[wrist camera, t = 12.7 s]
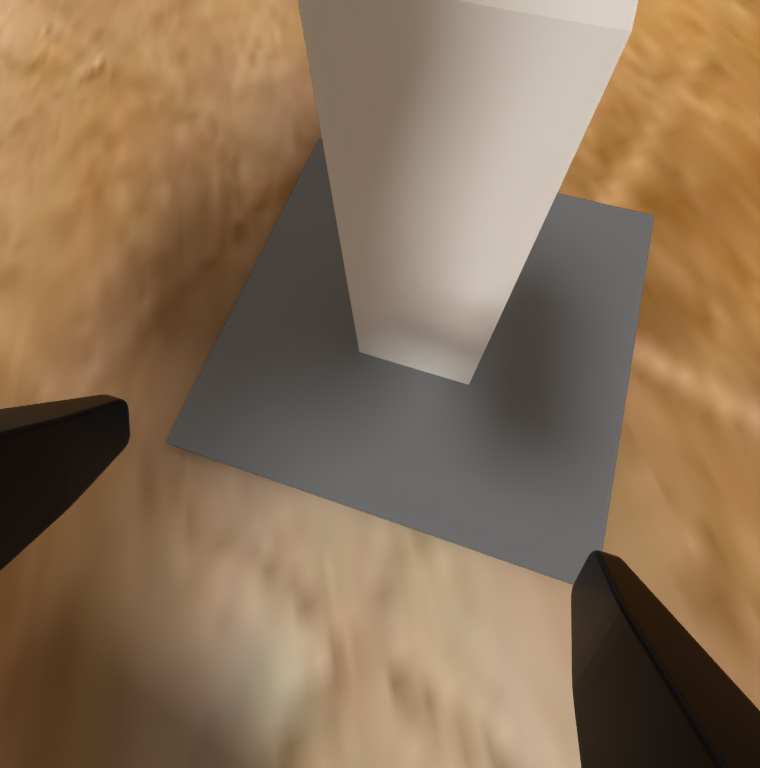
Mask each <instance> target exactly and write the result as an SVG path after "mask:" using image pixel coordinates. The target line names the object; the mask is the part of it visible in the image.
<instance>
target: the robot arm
mask: <svg viewBox="0 0 760 768" xmlns="http://www.w3.org/2000/svg"><path fill="white" fill-rule="evenodd" d="M129 438H130V426H129V410H128V405H127V403H126V402H125V401H124V400H122V399H119V398H116V397H113V396H110V395H97V396H90V397H83V398H76V399H69V400H62V401H55V402H47V403H40V404H33V405H26V406H19V407H12V408H5V409H0V571H1V570H2V569H3V568H4V567H5V566H6V565H7V564H8V563H9V562H11V561H12V560H13V559H14V558H15V557H16V556H17V555H18V554H19V553H20V552H22V551H23V550H24V549H25V548H26V547H27V546H28V545H29V544H30V543H31V542H33V541H34V540H35V539H36V538H37V537H38V536H39V535H40V534H41V533H42V532H44V531H45V530H46V529H47V528H48V527H49V526H50V525H51V524H52V523H53V522H55V521H56V520H57V519H58V518H59V517H60V516H61V515H62V514H63V513H64V512H65V511H66V510H67V509H68V508H70V507H71V506H72V505H73V503H74V502H75V501H76V500H77V499H78V498H79V497H80V496H81V495H82V494H83V493H84V492H85V491H86V490H87V489H88V488H89V486H90V485H91V484H92V483H93V482H94V481H95V480H96V479H97V478H98V477H99V476H100V474H101V473H102V472H103V471H104V470H105V469H106V468H107V467H108V466H109V465H110V464H111V462H112V461H113V460H114V459H115V458H116V457H117V456H118V455H119V454H120V453H121V452H122V451H123V449H124V448H125V447H126V445H127V444H128V441H129ZM571 627H572V688H573V699H574V709H575V717H576V726H577V734H578V742H579V751H580V759H581V767H582V768H760V711H759V709H758V708H757V707H756V706H755V705H754V704H753V703H752V702H751V701H750V700H749V698H748V697H747V696H746V695H745V694H744V693H743V692H742V691H741V690H740V689H739V687H738V686H737V685H736V684H735V683H734V682H733V681H732V680H731V679H730V678H729V676H728V675H727V674H726V673H725V672H724V671H723V670H722V669H721V668H720V667H719V665H718V664H717V663H716V662H715V661H714V660H713V659H712V658H711V657H710V656H709V654H708V653H707V652H706V651H705V650H704V649H703V648H702V647H701V646H700V645H699V643H698V642H697V641H696V640H695V639H694V638H693V637H692V636H691V635H690V634H689V632H688V631H687V630H686V629H685V628H684V627H683V626H682V625H681V624H680V623H679V621H678V620H677V619H676V618H675V617H674V616H673V615H672V614H671V613H670V612H669V610H668V609H667V608H666V607H665V606H664V605H663V604H662V603H661V602H660V601H659V600H658V598H657V597H656V596H655V595H654V594H653V593H652V592H651V591H650V590H649V589H648V587H647V586H646V585H645V584H644V583H643V582H642V581H641V580H640V579H639V578H638V576H637V575H636V574H635V573H634V572H633V571H632V570H631V569H630V568H629V567H628V565H627V564H626V563H625V562H624V561H623V560H622V559H621V558H619V557H618V556H615V555H612V554H609V553H605V552H602V551H599V550H595V551H592V552H591V553H590V554H589V556H588V558H587V559H586V561H585V563H584V565H583V567H582V569H581V571H580V573H579V575H578V576H577V578H576V580H575V582H574V585H573V588H572V594H571Z"/></svg>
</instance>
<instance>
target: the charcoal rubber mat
mask: <svg viewBox="0 0 760 768" xmlns="http://www.w3.org/2000/svg"><path fill="white" fill-rule="evenodd" d="M653 220H654V215H649V214H645V213H641V212H636V211H632V210H628V209H623V208H619V207H614V206H610V205H606V204H601V203H597V202H593V201H588V200H584V199H580V198H575V197H571V196H567V195H562V194H558V193H557V194H556V197H555V199H554V201H553V203H552V205H551V208H550V210H549V212H548V214H547V216H546V218H545V221H544V223H543V225H542V227H541V229H540V231H539V234H538V236H537V238H536V240H535V242H534V244H533V247H532V249H531V251H530V253H529V255H528V257H527V260H526V262H525V264H524V266H523V268H522V270H521V273H520V275H519V277H518V279H517V281H516V283H515V286H514V288H513V290H512V292H511V294H510V296H509V299H508V301H507V303H506V305H505V307H504V310H503V312H502V314H501V316H500V318H499V320H498V323H497V325H496V327H495V329H494V331H493V333H492V336H491V338H490V340H489V342H488V344H487V346H486V349H485V351H484V353H483V355H482V357H481V359H480V362H479V364H478V366H477V368H476V370H475V372H474V375H473V377H472V379H471V381H470V383H469V385H467V384H464V383H461V382H457V381H454V380H451V379H447V378H444V377H441V376H437V375H434V374H431V373H427V372H424V371H421V370H417V369H414V368H411V367H407V366H404V365H401V364H397V363H394V362H391V361H387V360H384V359H381V358H377V357H374V356H371V355H367V354H364V353H361V352H359V347H358V341H357V336H356V330H355V324H354V318H353V313H352V307H351V301H350V296H349V290H348V284H347V278H346V273H345V267H344V261H343V256H342V250H341V244H340V238H339V233H338V227H337V221H336V216H335V210H334V204H333V198H332V193H331V187H330V181H329V176H328V170H327V164H326V158H325V153H324V147H323V141H322V139H319V140H318V142H317V144H316V146H315V147H314V149H313V151H312V153H311V155H310V157H309V159H308V161H307V163H306V165H305V167H304V169H303V171H302V173H301V175H300V177H299V179H298V181H297V183H296V185H295V187H294V189H293V191H292V193H291V195H290V197H289V199H288V201H287V203H286V205H285V207H284V209H283V211H282V213H281V215H280V217H279V219H278V221H277V223H276V224H275V226H274V228H273V230H272V232H271V234H270V236H269V238H268V240H267V242H266V244H265V246H264V248H263V250H262V252H261V254H260V256H259V258H258V260H257V262H256V264H255V266H254V268H253V270H252V272H251V274H250V276H249V278H248V280H247V282H246V284H245V286H244V288H243V290H242V292H241V294H240V296H239V298H238V300H237V302H236V303H235V305H234V307H233V309H232V311H231V313H230V315H229V317H228V319H227V321H226V323H225V325H224V327H223V329H222V331H221V333H220V335H219V337H218V339H217V341H216V343H215V345H214V347H213V349H212V351H211V353H210V355H209V357H208V359H207V361H206V363H205V365H204V367H203V369H202V371H201V373H200V375H199V377H198V379H197V380H196V382H195V384H194V386H193V388H192V390H191V392H190V394H189V396H188V398H187V400H186V402H185V404H184V406H183V408H182V410H181V412H180V414H179V416H178V418H177V420H176V422H175V424H174V426H173V428H172V430H171V432H170V434H169V436H168V438H167V440H166V443H168V444H170V445H173V446H176V447H179V448H182V449H184V450H187V451H190V452H193V453H196V454H199V455H202V456H205V457H207V458H210V459H213V460H216V461H219V462H222V463H225V464H228V465H230V466H233V467H236V468H239V469H242V470H245V471H248V472H251V473H253V474H256V475H259V476H262V477H265V478H268V479H271V480H274V481H276V482H279V483H282V484H285V485H288V486H291V487H294V488H297V489H299V490H302V491H305V492H308V493H311V494H314V495H317V496H320V497H322V498H325V499H328V500H331V501H334V502H337V503H340V504H343V505H345V506H348V507H351V508H354V509H357V510H360V511H363V512H366V513H368V514H371V515H374V516H377V517H380V518H383V519H386V520H389V521H391V522H394V523H397V524H400V525H403V526H406V527H409V528H412V529H414V530H417V531H420V532H423V533H426V534H429V535H432V536H435V537H437V538H440V539H443V540H446V541H449V542H452V543H455V544H458V545H460V546H463V547H466V548H469V549H472V550H475V551H478V552H481V553H483V554H486V555H489V556H492V557H495V558H498V559H501V560H504V561H506V562H509V563H512V564H515V565H518V566H521V567H524V568H527V569H529V570H532V571H535V572H538V573H541V574H544V575H547V576H550V577H552V578H555V579H558V580H561V581H564V582H567V583H570V584H573V585H574V582H575V580H576V578H577V576H578V575H579V573H580V571H581V569H582V567H583V565H584V563H585V561H586V559H587V558H588V556H589V554H590V553H591V552H592V551H595V550H599V551H602V549H603V543H604V537H605V530H606V524H607V517H608V511H609V504H610V498H611V491H612V485H613V478H614V472H615V466H616V459H617V453H618V446H619V440H620V433H621V427H622V420H623V414H624V407H625V401H626V394H627V388H628V382H629V375H630V369H631V362H632V356H633V349H634V343H635V336H636V330H637V323H638V317H639V310H640V304H641V298H642V291H643V285H644V278H645V272H646V265H647V259H648V252H649V246H650V239H651V233H652V226H653Z"/></svg>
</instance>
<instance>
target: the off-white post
mask: <svg viewBox="0 0 760 768" xmlns="http://www.w3.org/2000/svg"><path fill="white" fill-rule="evenodd" d="M298 4H299V10H300V15H301V21H302V27H303V33H304V38H305V44H306V50H307V55H308V61H309V67H310V73H311V78H312V84H313V90H314V95H315V101H316V107H317V113H318V118H319V124H320V130H321V135H322V141H323V147H324V153H325V158H326V164H327V170H328V176H329V181H330V187H331V193H332V198H333V204H334V210H335V216H336V221H337V227H338V233H339V238H340V244H341V250H342V256H343V261H344V267H345V273H346V278H347V284H348V290H349V296H350V301H351V307H352V313H353V318H354V324H355V330H356V336H357V341H358V347H359V352H361V353H364V354H367V355H371V356H374V357H377V358H381V359H384V360H387V361H391V362H394V363H397V364H401V365H404V366H407V367H411V368H414V369H417V370H421V371H424V372H427V373H431V374H434V375H437V376H441V377H444V378H447V379H451V380H454V381H457V382H461V383H464V384H467V385H469V383H470V381H471V379H472V377H473V375H474V372H475V370H476V368H477V366H478V364H479V362H480V359H481V357H482V355H483V353H484V351H485V349H486V346H487V344H488V342H489V340H490V338H491V336H492V333H493V331H494V329H495V327H496V325H497V323H498V320H499V318H500V316H501V314H502V312H503V310H504V307H505V305H506V303H507V301H508V299H509V296H510V294H511V292H512V290H513V288H514V286H515V283H516V281H517V279H518V277H519V275H520V273H521V270H522V268H523V266H524V264H525V262H526V260H527V257H528V255H529V253H530V251H531V249H532V247H533V244H534V242H535V240H536V238H537V236H538V234H539V231H540V229H541V227H542V225H543V223H544V221H545V218H546V216H547V214H548V212H549V210H550V208H551V205H552V203H553V201H554V199H555V197H556V194H557V192H558V190H559V188H560V186H561V184H562V181H563V179H564V177H565V175H566V173H567V171H568V168H569V166H570V164H571V162H572V160H573V158H574V155H575V153H576V151H577V149H578V147H579V145H580V142H581V140H582V138H583V136H584V134H585V132H586V129H587V127H588V125H589V123H590V121H591V119H592V116H593V114H594V112H595V110H596V108H597V106H598V103H599V101H600V99H601V97H602V95H603V92H604V90H605V88H606V86H607V84H608V82H609V79H610V77H611V75H612V73H613V71H614V69H615V66H616V64H617V62H618V60H619V58H620V56H621V53H622V51H623V49H624V47H625V45H626V43H627V40H628V38H629V36H630V34H631V32H632V27H633V23H634V18H635V14H636V9H637V4H638V0H298Z"/></svg>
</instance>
